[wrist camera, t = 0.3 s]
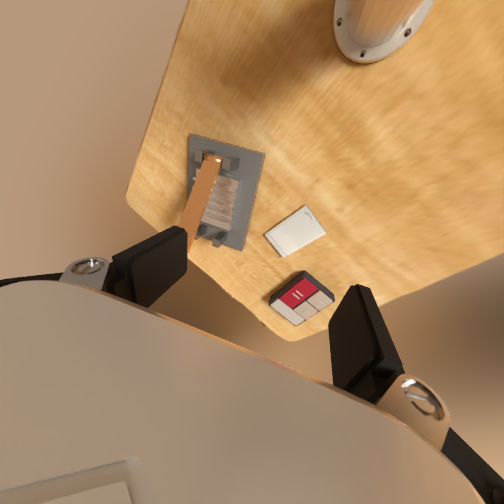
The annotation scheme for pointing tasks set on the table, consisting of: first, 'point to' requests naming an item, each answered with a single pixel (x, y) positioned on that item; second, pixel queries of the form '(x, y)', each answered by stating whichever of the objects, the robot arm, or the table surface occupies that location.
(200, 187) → the retention strap
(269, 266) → the table surface
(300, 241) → the hard drive
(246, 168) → the grey mounting plate
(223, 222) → the heat sink
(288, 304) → the calculator
